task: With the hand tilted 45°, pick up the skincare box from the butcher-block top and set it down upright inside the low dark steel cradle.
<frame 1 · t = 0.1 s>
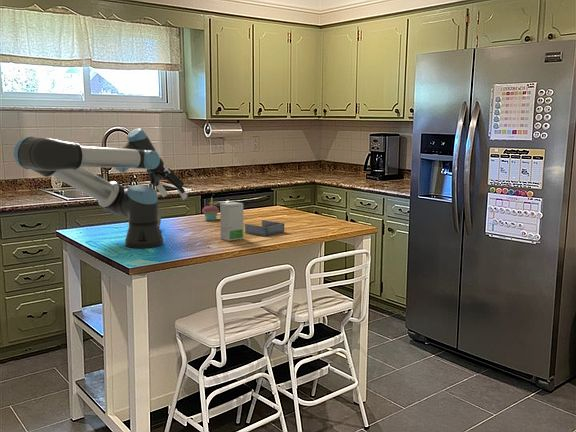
hand: (175, 196, 262), 15 cm above the countertop, tool tilted 35°, fingers open, 13 cm apart
skincare box: (232, 239, 245), on the countertop
steel cradle: (264, 232, 258), on the countertop
garlic bulb: (152, 229, 264), on the countertop
cupcake: (210, 219, 289), on the countertop
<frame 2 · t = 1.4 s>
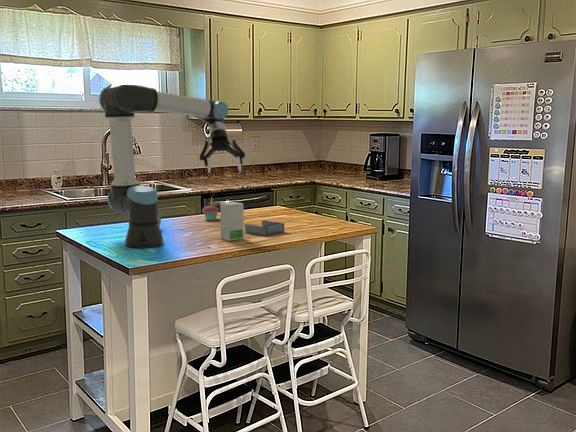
hand: (225, 170, 250), 28 cm above the countertop, tool tilted 45°, fingers open, 13 cm apart
nothing on the countertop moved.
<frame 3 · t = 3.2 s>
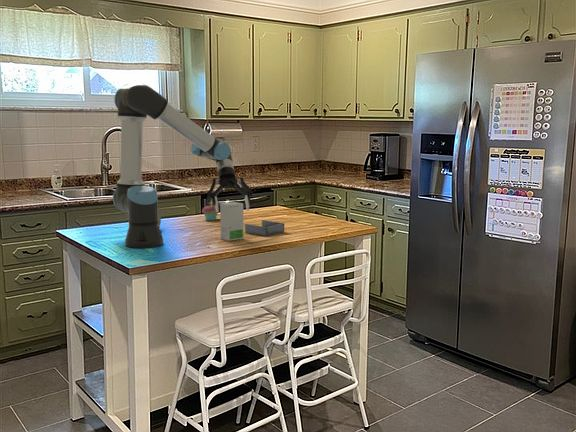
hand: (232, 209, 248), 12 cm above the countertop, tool tilted 45°, fingers open, 13 cm apart
nothing on the countertop moved.
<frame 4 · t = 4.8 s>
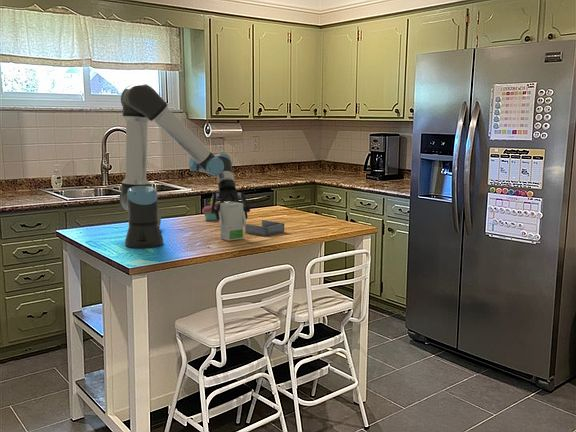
hand: (233, 225, 241), 6 cm above the countertop, tool tilted 45°, fingers closed on skincare box, 10 cm apart
skincare box: (232, 239, 245), on the countertop, touching gripper
everything else where it was.
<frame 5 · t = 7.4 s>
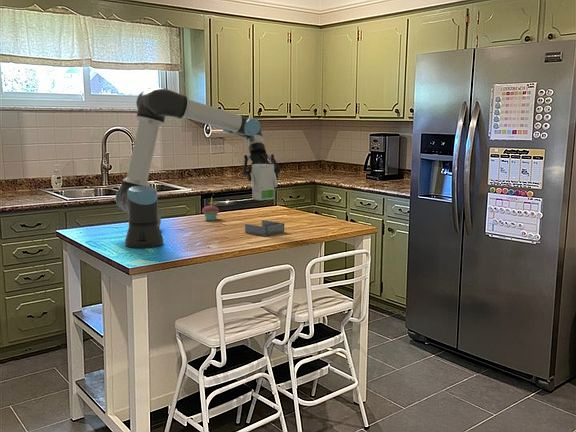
hand: (264, 185, 250), 22 cm above the countertop, tool tilted 45°, fingers closed on skincare box, 10 cm apart
skincare box: (263, 199, 255), point 15 cm above the countertop, touching gripper
everything else where it was.
when the fingers open (9 cm above the countertop, at t = 10.3 s): skincare box drops 2 cm, resting on steel cradle.
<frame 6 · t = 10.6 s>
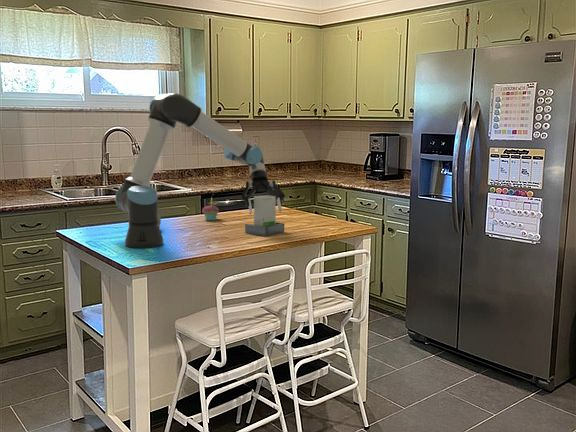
hand: (265, 211, 254), 10 cm above the countertop, tool tilted 45°, fingers open, 13 cm apart
skincare box: (264, 230, 258), point 1 cm above the countertop, touching steel cradle
everything else where it was.
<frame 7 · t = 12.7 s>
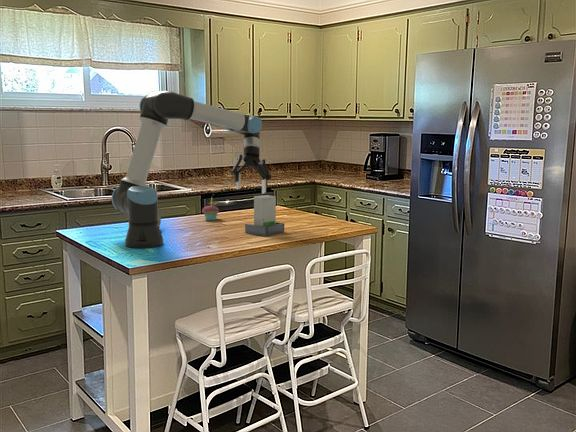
hand: (251, 190, 266), 17 cm above the countertop, tool tilted 25°, fingers open, 13 cm apart
nothing on the countertop moved.
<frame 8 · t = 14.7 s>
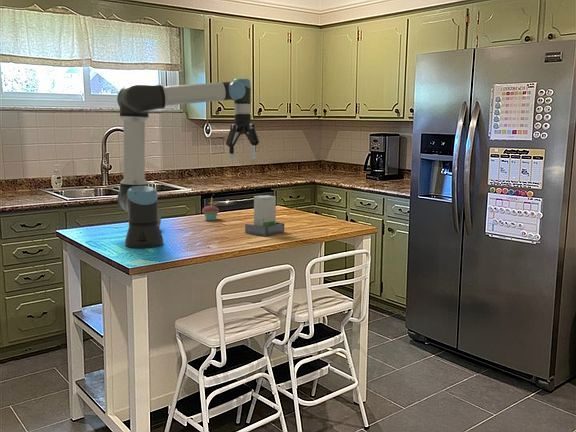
hand: (243, 160, 264), 32 cm above the countertop, tool pointing down, fingers open, 13 cm apart
nothing on the countertop moved.
at the end: skincare box inside the target area on the steel cradle (0.1 cm from its centre), point 0.8 cm above the steel cradle's base; skincare box tilted 0°; the gripper is holding nothing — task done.
